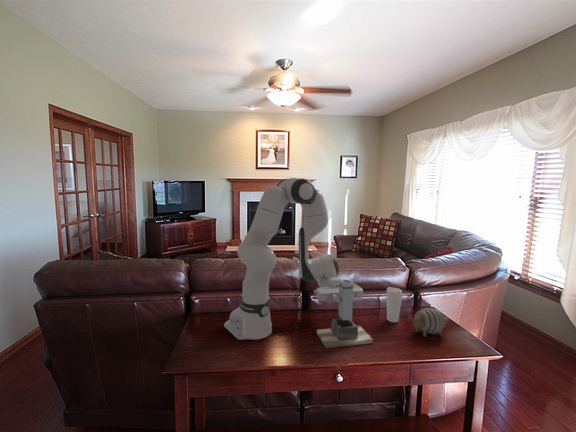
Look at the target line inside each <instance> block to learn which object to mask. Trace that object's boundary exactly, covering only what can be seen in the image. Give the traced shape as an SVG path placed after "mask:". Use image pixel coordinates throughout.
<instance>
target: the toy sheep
mask: <svg viewBox="0 0 576 432" xmlns="http://www.w3.org/2000/svg"><path fill="white" fill-rule="evenodd" d="M413 317H414V318H413V319H412V324H413V326H414V327H415V328H416V329H415V330H416V332H417V333H420V332H421V331H422V336H423V337H424V338H426V337H427V334H431V335H434V334H438V336H442V330H443V328H444V327H445V325H446V322H448V321H450V318H449V317H446V316H445V315H444V314H443V313H442V311H440V310H439V309H435V308H429V307H425V308H422V309H420V310H418V311H416V313H415V314H414V315H413Z"/></svg>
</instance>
